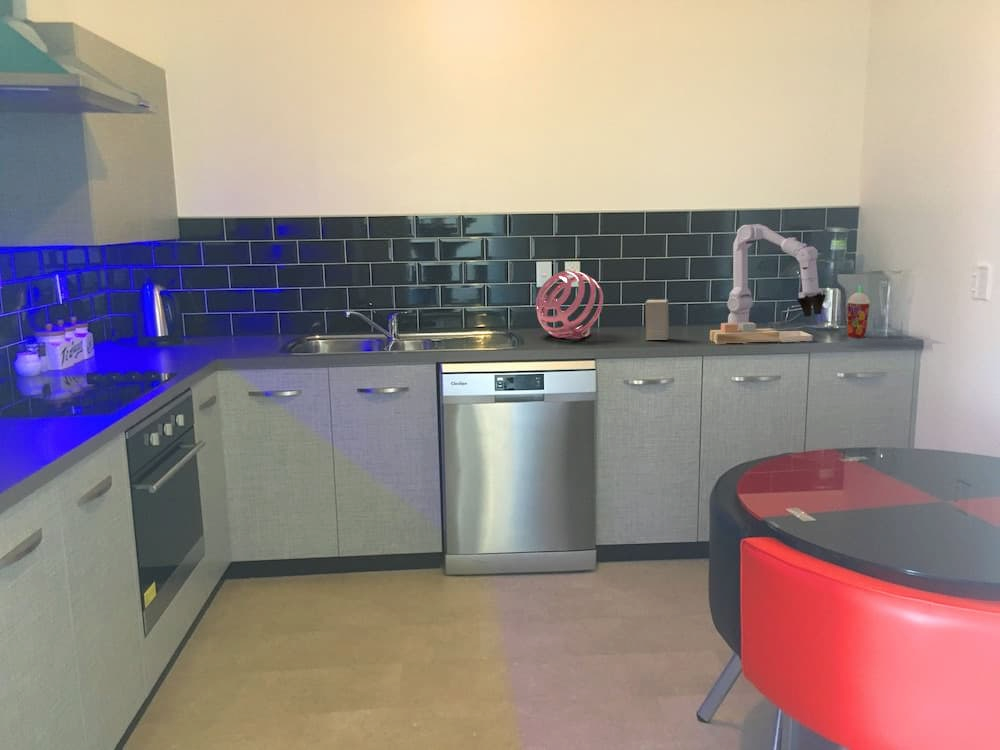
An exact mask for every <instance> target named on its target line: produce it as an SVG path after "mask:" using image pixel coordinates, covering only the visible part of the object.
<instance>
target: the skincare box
mask: <svg viewBox="0 0 1000 750" xmlns="http://www.w3.org/2000/svg"><path fill="white" fill-rule="evenodd" d="M644 303H645V341H646V340H667V341H668V339H669V337H670V336H669V335H670V333H669V330H670V327H669V299H647V300H646V301H645V302H644Z"/></svg>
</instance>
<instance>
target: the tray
mask: <svg viewBox="0 0 1000 750" xmlns="http://www.w3.org/2000/svg"><path fill="white" fill-rule="evenodd" d="M779 332H780V333H779V341H781V342H795V343H801V342H800V341H807V342H806V343H810V342H809V341H813V342H814V335H813V334H810V333H807V332H805V331H802V330H791V331H790V330H787V331H779Z"/></svg>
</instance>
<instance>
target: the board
mask: <svg viewBox="0 0 1000 750" xmlns="http://www.w3.org/2000/svg"><path fill="white" fill-rule="evenodd" d="M780 332H781V331H777V330H775V329H773V328H756V332H741V331H739V330H738V332H734V333H724V332H722V331H721V329H709V341H710V340H711V342H712V341H713V342H712V343H714V342H715V343H714V344H716V345H727V344H726V343H743V344H748V343H747V342H768V341H779V333H780Z"/></svg>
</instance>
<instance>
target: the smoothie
mask: <svg viewBox="0 0 1000 750" xmlns="http://www.w3.org/2000/svg"><path fill="white" fill-rule="evenodd" d="M870 304H871V301H870V299H869V297H868V296H867V294H864V293H862V292H861V285H858V291H857V292H855V293H853V294H852V295H851V296H849V298H848V300H847V301H846V311H847V312H846V334H847V335H848V337H849V338H857V339H858V338H859V339H860V338H864V337H865V335H866V333H867V326H868V320H869V312H870V307H871V306H870Z"/></svg>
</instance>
